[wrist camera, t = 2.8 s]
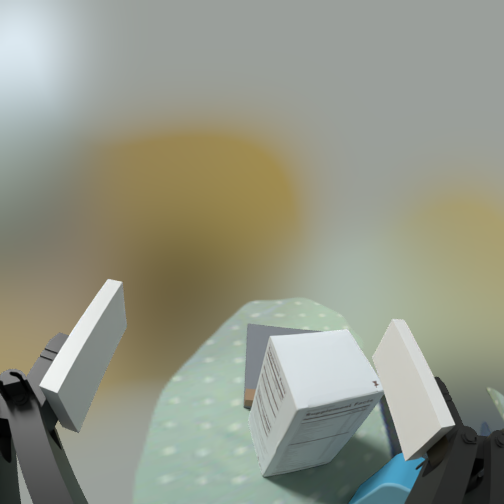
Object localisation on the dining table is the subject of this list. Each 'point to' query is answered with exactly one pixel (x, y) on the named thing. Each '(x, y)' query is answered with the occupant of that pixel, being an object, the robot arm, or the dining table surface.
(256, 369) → the topple mat
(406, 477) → the data package
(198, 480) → the dining table surface
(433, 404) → the robot arm
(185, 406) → the dining table surface
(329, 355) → the supplement box
